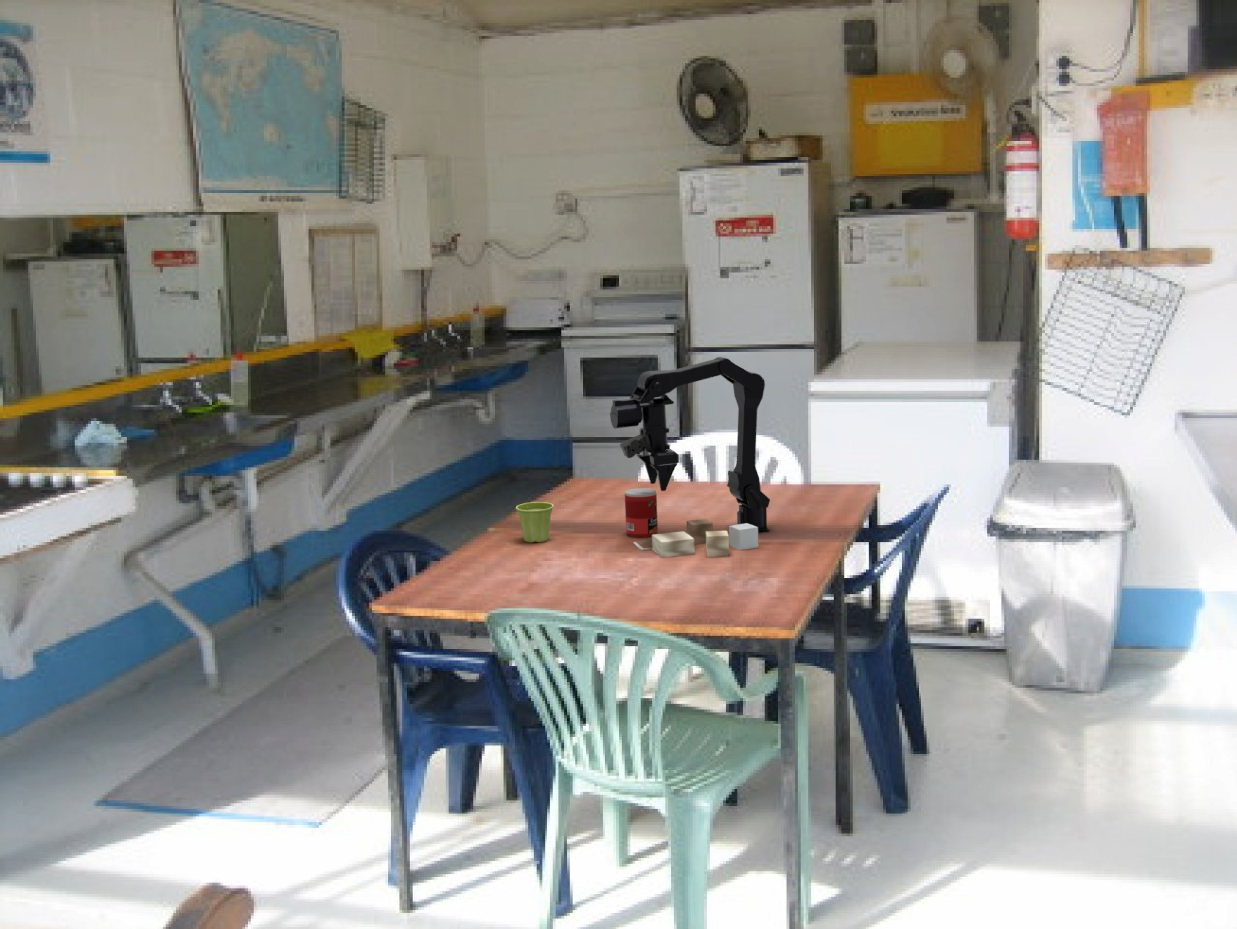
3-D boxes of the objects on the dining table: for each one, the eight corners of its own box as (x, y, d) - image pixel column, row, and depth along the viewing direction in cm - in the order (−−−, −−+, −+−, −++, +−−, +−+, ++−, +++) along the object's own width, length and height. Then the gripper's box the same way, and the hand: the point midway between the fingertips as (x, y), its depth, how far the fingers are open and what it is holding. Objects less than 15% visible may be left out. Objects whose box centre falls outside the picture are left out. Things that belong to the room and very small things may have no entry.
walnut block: (706, 538, 327) (706, 518, 326) (713, 543, 322) (712, 523, 321) (687, 540, 325) (686, 520, 324) (693, 545, 321) (692, 525, 320)
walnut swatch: (661, 540, 326) (661, 538, 326) (670, 547, 319) (670, 544, 319) (633, 543, 324) (633, 541, 324) (641, 550, 317) (641, 547, 317)
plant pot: (563, 538, 332) (561, 504, 330) (535, 546, 325) (533, 512, 323) (537, 533, 338) (535, 500, 336) (509, 541, 331) (508, 507, 330)
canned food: (655, 538, 329) (653, 494, 327) (623, 537, 330) (621, 494, 328) (660, 530, 336) (658, 488, 334) (629, 530, 338) (627, 488, 336)
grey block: (747, 543, 320) (747, 523, 319) (758, 547, 316) (757, 527, 315) (729, 546, 318) (729, 525, 317) (740, 550, 314) (739, 530, 313)
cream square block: (684, 547, 319) (683, 531, 319) (694, 555, 312) (694, 538, 311) (652, 550, 318) (651, 534, 317) (662, 558, 310) (661, 542, 309)
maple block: (727, 551, 314) (726, 530, 313) (729, 556, 309) (728, 535, 308) (706, 552, 314) (705, 531, 313) (707, 557, 309) (707, 536, 308)
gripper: (612, 421, 327) (616, 483, 330) (632, 433, 309) (636, 498, 312) (656, 417, 330) (659, 478, 333) (677, 428, 312) (681, 493, 315)
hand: (658, 487), depth 323 cm, fingers open, 9 cm apart
